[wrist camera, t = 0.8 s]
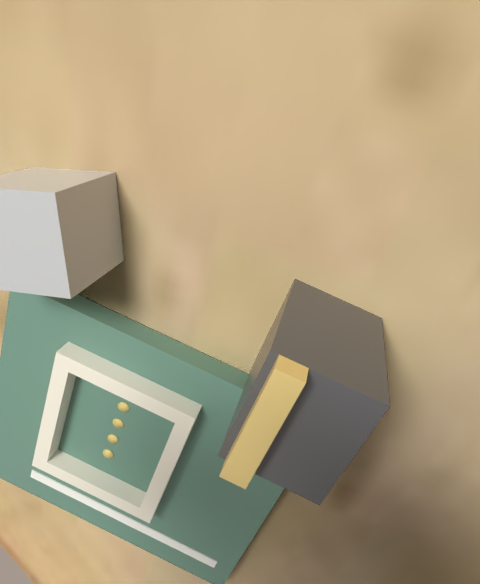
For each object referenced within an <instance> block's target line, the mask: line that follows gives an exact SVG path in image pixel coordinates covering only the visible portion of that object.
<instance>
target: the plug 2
mask: <svg viewBox="0 0 480 584" xmlns="http://www.w3.org/2000/svg"><path fill="white" fill-rule="evenodd" d="M389 407H390V400H389V389H388V378H387V368H386V357H385V346H384V335H383V324H382V318H380V317H378V316H376V315H374V314H372V313H369V312H367V311H365V310H363V309H361V308H358V307H356V306H354V305H352V304H350V303H347V302H345V301H343V300H341V299H339V298H336V297H334V296H332V295H330V294H328V293H325V292H323V291H321V290H319V289H317V288H314V287H312V286H310V285H308V284H306V283H303V282H301V281H299V280H297V279H295V280H294V282H293V284H292V286H291V288H290V290H289V292H288V294H287V296H286V298H285V300H284V302H283V304H282V306H281V309H280V311H279V313H278V315H277V317H276V319H275V321H274V323H273V325H272V327H271V329H270V331H269V333H268V335H267V337H266V340H265V342H264V344H263V346H262V348H261V350H260V352H259V354H258V356H257V358H256V360H255V362H254V364H253V366H252V369H251V372H250V374H249V377H248V379H247V382H246V384H245V387H244V389H243V392H242V395H241V397H240V400H239V402H238V405H237V407H236V410H235V413H234V415H233V418H232V420H231V423H230V425H229V428H228V431H227V433H226V436H225V438H224V441H223V443H222V446H221V449H220V451H219V454H218V457H221V458H223V459H225V461H224V464H223V467H222V470H221V472H220V475H219V477H221V478H223V479H225V480H227V481H229V482H231V483H233V484H235V485H237V486H239V487H242V488H244V489H246V488H247V486H248V484H249V482H250V480H251V479H252V477H253V475H254V474H256V475H258V476H260V477H262V478H264V479H266V480H268V481H270V482H272V483H275V484H277V485H279V486H281V487H283V488H285V489H287V490H289V491H291V492H293V493H295V494H297V495H299V496H301V497H304V498H306V499H308V500H310V501H312V502H314V503H316V504H318V505H320V504H321V503H322V501H323V500H324V498H325V497H326V496H327V494H328V493H329V491H330V490H331V489H332V487H333V486H334V484H335V483H336V482H337V480H338V479H339V477H340V476H341V475H342V473H343V472H344V470H345V469H346V467H347V466H348V465H349V463H350V462H351V460H352V459H353V458H354V456H355V455H356V453H357V452H358V451H359V449H360V448H361V446H362V445H363V443H364V442H365V441H366V439H367V438H368V436H369V435H370V434H371V432H372V431H373V429H374V428H375V427H376V425H377V424H378V422H379V421H380V419H381V418H382V417H383V415H384V414H385V412H386V411H387V410H388V408H389Z"/></svg>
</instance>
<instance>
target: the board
mask: <svg viewBox="0 0 480 584" xmlns="http://www.w3.org/2000/svg"><path fill="white" fill-rule="evenodd" d="M248 377H249V374H247V373H245V372H242V371H240V370H238V369H236V368H234V367H232V366H230V365H227V364H225V363H223V362H221V361H219V360H217V359H215V358H213V357H210V356H208V355H206V354H204V353H202V352H200V351H198V350H195V349H193V348H191V347H189V346H187V345H185V344H183V343H181V342H178V341H176V340H174V339H172V338H170V337H168V336H166V335H163V334H161V333H159V332H157V331H155V330H153V329H151V328H149V327H146V326H144V325H142V324H140V323H138V322H136V321H134V320H131V319H129V318H127V317H125V316H123V315H121V314H119V313H117V312H114V311H112V310H110V309H108V308H106V307H104V306H102V305H99V304H97V303H95V302H93V301H91V300H89V299H87V298H85V297H82V296H80V295H78V294H77V295H76V296H74V297H73V298H72V299H67V298H59V297H51V296H43V295H36V294H28V293H20V292H12V291H10V293H9V300H8V307H7V314H6V321H5V328H4V335H3V342H2V350H1V357H0V478H1V479H3V480H5V481H7V482H9V483H11V484H13V485H15V486H17V487H19V488H21V489H23V490H25V491H27V492H29V493H31V494H33V495H35V496H37V497H39V498H41V499H43V500H45V501H47V502H49V503H51V504H53V505H55V506H57V507H59V508H61V509H63V510H66V511H68V512H70V513H72V514H74V515H76V516H78V517H80V518H82V519H84V520H86V521H88V522H90V523H92V524H94V525H96V526H98V527H100V528H102V529H104V530H106V531H108V532H110V533H112V534H114V535H116V536H118V537H120V538H122V539H124V540H126V541H128V542H130V543H132V544H134V545H136V546H138V547H140V548H142V549H144V550H146V551H148V552H150V553H152V554H154V555H156V556H158V557H160V558H162V559H164V560H166V561H168V562H170V563H172V564H174V565H176V566H178V567H180V568H182V569H184V570H186V571H188V572H190V573H192V574H194V575H196V576H198V577H200V578H202V579H204V580H206V581H208V582H210V583H212V584H224V583H225V582H226V580H227V578H228V577H229V575H230V574H231V572H232V571H233V569H234V567H235V566H236V564H237V563H238V561H239V559H240V558H241V556H242V555H243V553H244V552H245V550H246V548H247V547H248V545H249V544H250V542H251V540H252V539H253V537H254V536H255V534H256V533H257V531H258V529H259V528H260V526H261V525H262V523H263V522H264V520H265V518H266V517H267V515H268V514H269V512H270V510H271V509H272V507H273V506H274V504H275V503H276V501H277V499H278V498H279V496H280V495H281V493H282V491H283V490H284V488H283V487H281V486H279V485H277V484H275V483H272V482H270V481H268V480H266V479H264V478H262V477H260V476H258V475H256V474H254V475H253V477H252V479H251V480H250V482H249V484H248V486H247V488H246V489H244V488H242V487H239V486H237V485H235V484H233V483H231V482H229V481H227V480H225V479H223V478H221V477H219V475H220V472H221V470H222V467H223V464H224V461H225V459H223V458H221V457H218V454H219V451H220V449H221V446H222V443H223V441H224V438H225V436H226V433H227V431H228V428H229V425H230V423H231V420H232V418H233V415H234V413H235V410H236V407H237V405H238V402H239V400H240V397H241V395H242V392H243V389H244V387H245V384H246V382H247V379H248Z"/></svg>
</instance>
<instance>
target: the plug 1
mask: <svg viewBox="0 0 480 584" xmlns="http://www.w3.org/2000/svg"><path fill="white" fill-rule="evenodd" d="M123 261H124V255H123V244H122V233H121V223H120V212H119V202H118V191H117V180H116V172H107V171H91V170H75V169H58V168H42V167H31V168H27V169H22V170H18V171H14V172H10V173H6V174H1V175H0V290H4V291H12V292H20V293H28V294H36V295H43V296H51V297H59V298H67V299H72V298H73V297H74V296H76V295H77V294H78V293H80V292H81V291H83V290H84V289H85V288H87V287H88V286H89V285H91V284H92V283H94V282H95V281H96V280H98V279H99V278H101V277H102V276H103V275H105V274H106V273H107V272H109V271H110V270H112V269H113V268H114V267H116V266H117V265H118V264H120V263H121V262H123Z"/></svg>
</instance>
